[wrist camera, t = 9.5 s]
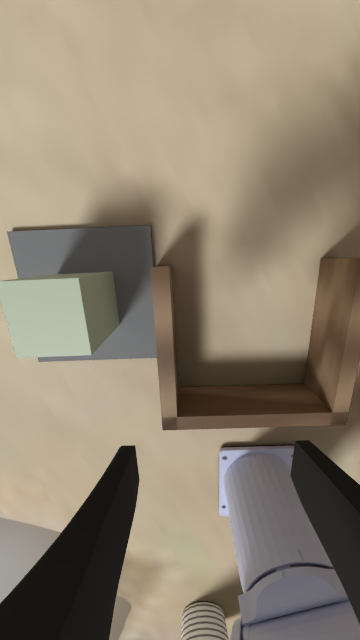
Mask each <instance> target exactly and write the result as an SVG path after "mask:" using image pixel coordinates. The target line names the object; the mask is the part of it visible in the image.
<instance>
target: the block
mask: <svg viewBox="0 0 360 640" xmlns="http://www.w3.org/2000/svg"><path fill="white" fill-rule="evenodd" d="M0 300H1V303H2V307H3V311H4V314H5V318H6V321H7V325H8V329H9V332H10V336H11V340H12V343H13V347H14V351H15V354H16V358H27V357H55V356H82V355H92V354H93V353H94V352H95V351H96V350H97V349H98V348H99V347H100V346H101V344H102V343H103V342H104V341H105V340H106V339H107V338H108V337H109V336H110V335H111V334H112V333H113V332H114V331H115V329H116V328H117V327H118V326H119V325H120V324H119V316H118V308H117V300H116V292H115V284H114V276H113V272H92V273H69V274H53V275H45V276H37V277H29V278H21V279H12V280H4V281H0Z"/></svg>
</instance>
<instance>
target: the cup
mask: <svg viewBox="0 0 360 640" xmlns="http://www.w3.org/2000/svg"><path fill="white" fill-rule="evenodd" d="M181 640H229V639H228V633H227V628H226V622H225V616H224V612H223V610H222V609H221V608H220V607H219V606H217V605H215V604H213V603H208V602H199V603H195V604H192V605H189V606H188V607H187V608H185V610H184V612H183V615H182V632H181Z"/></svg>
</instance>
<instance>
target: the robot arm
mask: <svg viewBox="0 0 360 640" xmlns="http://www.w3.org/2000/svg"><path fill="white" fill-rule="evenodd" d="M292 454H293V455H292ZM223 456H225V457H223ZM138 486H139V473H138V465H137V458H136V450H135V446H121V447H120V448H119V450H118V451H117V453H116V455H115V456H114V458H113V460H112V461H111V463H110V465H109V466H108V468H107V469H106V471H105V472H104V474H103V476H102V477H101V479H100V480H99V482H98V483H97V485H96V486H95V488H94V489H93V490H92V492H91V493H90V495H89V496H88V498H87V499H86V501H85V502H84V503H83V505H82V506H81V507H80V509H79V510H78V511H77V513H76V514H75V516H74V517H73V518H72V520H71V521H70V522H69V524H68V525H67V526H66V528H65V529H64V530H63V531H62V533H61V534H60V535H59V537H58V538H57V539H56V540H55V542H54V543H53V544H52V545H51V546H50V548H49V549H48V550H47V551H46V552H45V554H44V555H43V556H42V557H41V558H40V560H39V561H38V562H37V563H36V564H35V565H34V567H33V568H32V569H31V570H30V571H29V572H28V573H27V575H26V576H25V577H24V578H23V579H22V580H21V581H20V583H19V584H18V585H17V586H16V587H15V588H14V589H13V590H12V592H11V593H10V594H9V595H8V596H7V597H6V598H5V599H4V600H3V601H2V602H1V603H0V640H109V635H110V629H111V623H112V617H113V610H114V604H115V599H116V594H117V589H118V584H119V579H120V575H121V570H122V566H123V561H124V557H125V553H126V548H127V544H128V539H129V535H130V530H131V526H132V521H133V517H134V512H135V508H136V501H137V493H138ZM219 514H220V515H221V516H229V521H230V526H231V532H232V537H233V543H234V548H235V554H236V559H237V565H238V570H239V575H240V581H241V585H242V589H243V592H244V594H241V595H239V596H238V600H239V606H240V612H241V618H239V619H237V620H235V621H234V624H233V627H232V633H231V638H230V640H360V485H359V484H358V483H357V482H356V481H355V480H353V479H352V478H351V477H350V476H349V475H348V474H346V473H345V472H344V471H343V470H342V469H341V468H340V467H338V466H337V465H336V464H335V463H334V462H333V461H332V460H330V459H329V458H328V457H327V456H326V455H325V454H324V453H323V452H321V451H320V450H319V449H318V448H317V447H316V446H315V445H314V444H312V443H311V442H310V441H309V440H306V441H295V445H294V446H259V447H224V448H221V449H220V451H219Z"/></svg>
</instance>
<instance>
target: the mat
mask: <svg viewBox="0 0 360 640" xmlns="http://www.w3.org/2000/svg"><path fill="white" fill-rule="evenodd" d="M7 234H8V238H9V242H10V246H11V250H12V254H13V258H14V262H15V267H16V271H17V275H18V279H21V278H29V277H37V276H45V275H53V274H69V273H92V272H113V276H114V284H115V292H116V300H117V308H118V316H119V324H120V325H119V326H118V327H117V328H116V329H115V331H114V332H113V333H112V334H111V335H110V336H109V337H108V338H107V339H106V340H105V341H104V342H103V343H102V344H101V346H100V347H99V348H98V349H97V350H96V351H95V352H94V353H93V354H92V355H82V356H55V357H38V361H39V362H46V361H75V360H103V359H132V358H157V349H156V336H155V323H154V310H153V297H152V284H151V271H150V267H154V266H153V253H152V239H151V226H150V225H142V226H120V227H98V228H77V229H55V230H33V231H11V232H7Z"/></svg>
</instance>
